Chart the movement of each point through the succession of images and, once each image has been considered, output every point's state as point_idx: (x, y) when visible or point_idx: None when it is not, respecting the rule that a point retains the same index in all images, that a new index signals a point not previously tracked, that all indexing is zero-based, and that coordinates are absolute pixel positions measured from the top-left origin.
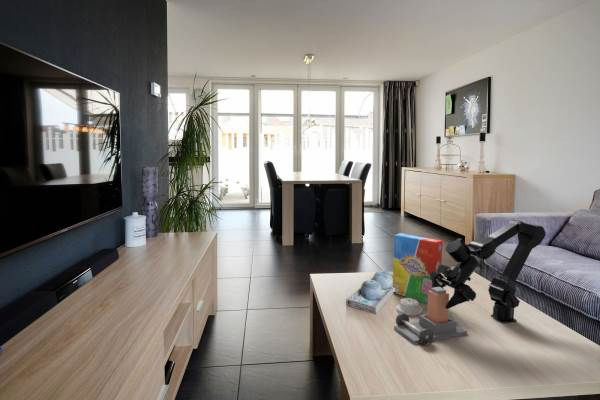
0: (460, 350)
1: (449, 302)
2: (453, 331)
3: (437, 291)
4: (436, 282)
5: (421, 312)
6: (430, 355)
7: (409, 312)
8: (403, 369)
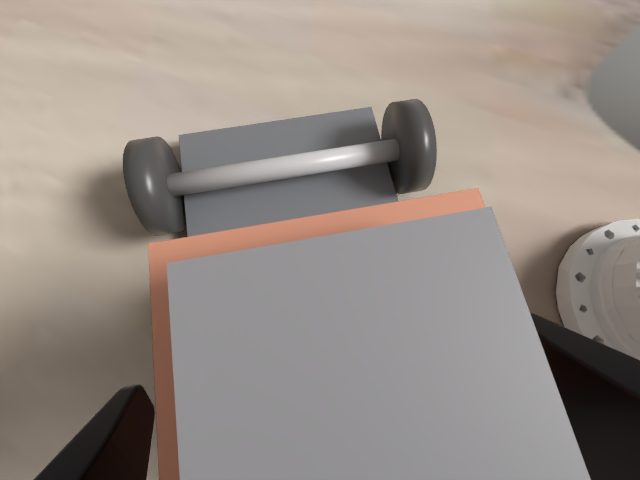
0: (39, 364)
1: (49, 477)
2: None
3: (179, 263)
4: None
5: None
6: (57, 173)
7: (584, 278)
8: (2, 25)
